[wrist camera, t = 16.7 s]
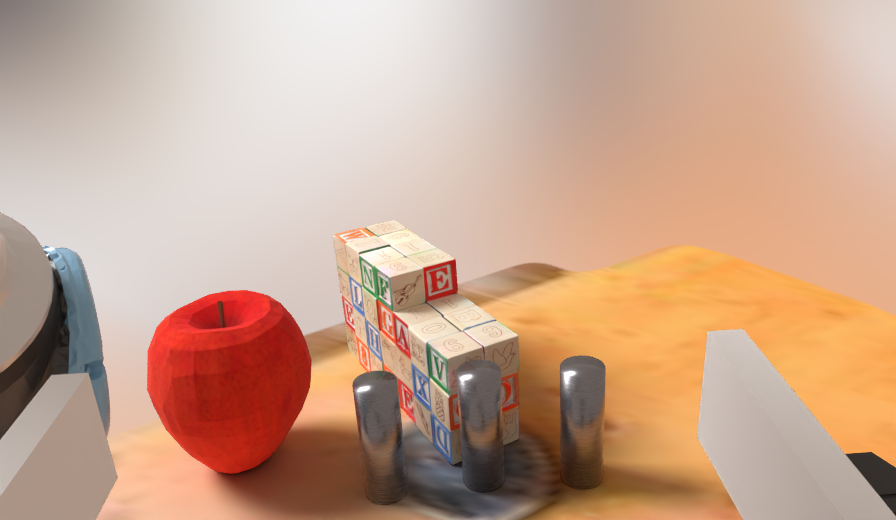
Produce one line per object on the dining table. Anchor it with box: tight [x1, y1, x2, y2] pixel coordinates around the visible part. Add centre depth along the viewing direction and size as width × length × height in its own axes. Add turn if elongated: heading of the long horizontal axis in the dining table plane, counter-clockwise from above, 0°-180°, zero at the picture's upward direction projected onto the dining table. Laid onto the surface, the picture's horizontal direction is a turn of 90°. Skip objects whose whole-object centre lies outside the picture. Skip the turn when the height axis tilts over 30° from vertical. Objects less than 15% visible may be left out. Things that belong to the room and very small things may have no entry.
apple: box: [147, 290, 311, 474], centre depth 57 cm, size 12×12×13 cm
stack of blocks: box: [333, 220, 519, 465], centre depth 65 cm, size 21×6×12 cm, turn 28°
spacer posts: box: [353, 356, 605, 504], centre depth 47 cm, size 25×18×9 cm
